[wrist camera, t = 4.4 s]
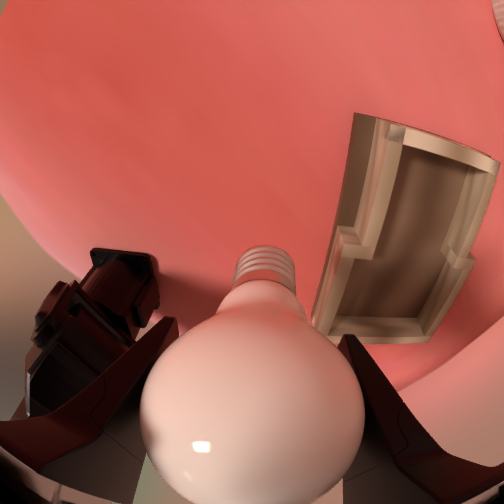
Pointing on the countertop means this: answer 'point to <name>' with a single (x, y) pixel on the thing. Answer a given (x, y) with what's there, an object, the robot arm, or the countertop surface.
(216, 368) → the lightbulb
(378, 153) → the wooden tray
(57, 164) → the countertop surface
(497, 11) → the ramekin
